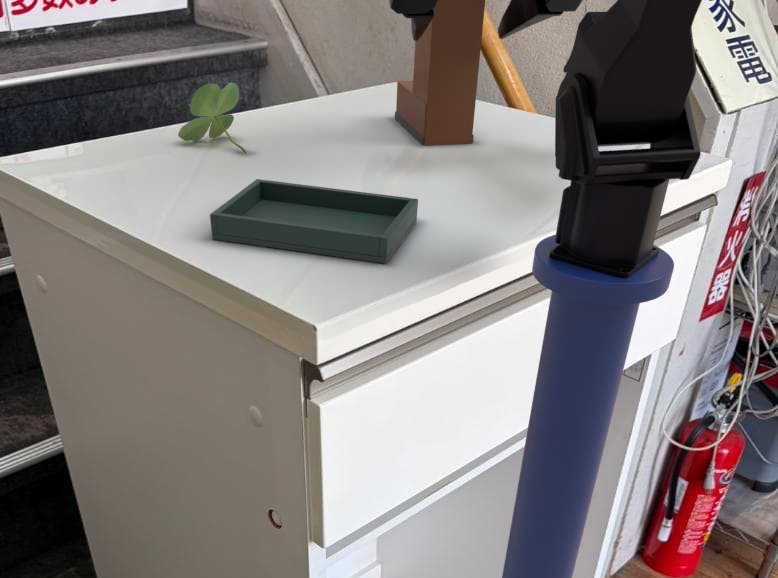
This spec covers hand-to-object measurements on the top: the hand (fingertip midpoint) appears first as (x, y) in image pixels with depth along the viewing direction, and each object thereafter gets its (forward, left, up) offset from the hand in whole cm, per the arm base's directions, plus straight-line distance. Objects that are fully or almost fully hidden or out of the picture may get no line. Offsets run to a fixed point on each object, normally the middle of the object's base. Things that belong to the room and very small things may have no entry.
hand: (457, 35), depth 84 cm
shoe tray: (-6, +29, -10) cm, 32 cm away
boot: (+4, -4, -10) cm, 12 cm away
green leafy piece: (+18, +17, -10) cm, 27 cm away
